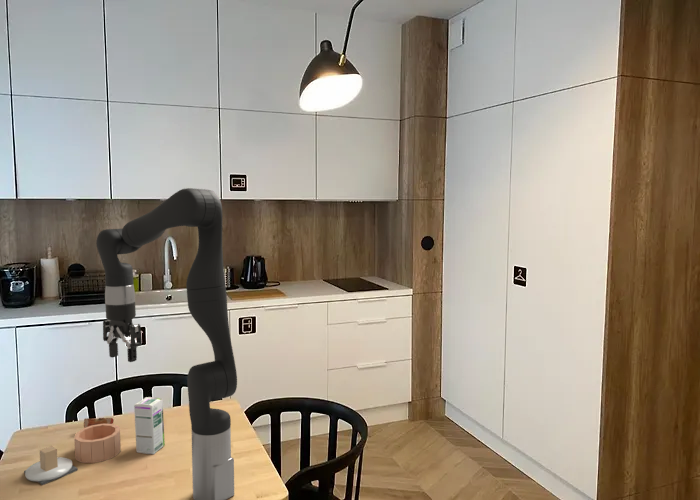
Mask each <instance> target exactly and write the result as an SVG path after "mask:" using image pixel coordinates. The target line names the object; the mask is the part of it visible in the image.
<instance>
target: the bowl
mask: <svg viewBox="0 0 700 500" xmlns="http://www.w3.org/2000/svg"><path fill="white" fill-rule="evenodd" d="M73 439H74V457H75V458H74V459H75V460H76V461H78V462H80V463H84V464H85V463H86V464H95V463H99V462H105V461H107V460H110V459H112V458H114V457H116V456H117V455H118V454H119V453H121V451H122V449H121V446H122V445H121V427H120V426H119V425H116V424H115V423H113V424H97V425H92V426H89V427H86V428H84V427H83V428H81V429H80V430H78V431H77V432H76V433H75V434H74V437H73Z"/></svg>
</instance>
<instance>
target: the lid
mask: <svg viewBox="0 0 700 500" xmlns="http://www.w3.org/2000/svg"><path fill="white" fill-rule="evenodd" d="M72 465H73V461H72V459H70V458H67V457H61V456H60V457H59V456H58V448H57V447H55V446H53V445H49V446H47V447H44V448H40V449H39V461H38V462H35V463H33V464H32V465H30V466H28V467H27V468H26V469H25V470H26V471H25V470H24V471H25V473H24V475H25V478H26V480H28V481H31V482H37V481H46V480H51V479H55V478H58V477H60V476H62V475H64V474H66V473H67V472H69V471H70V470H71V468H72ZM58 479H59V478H58Z"/></svg>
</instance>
